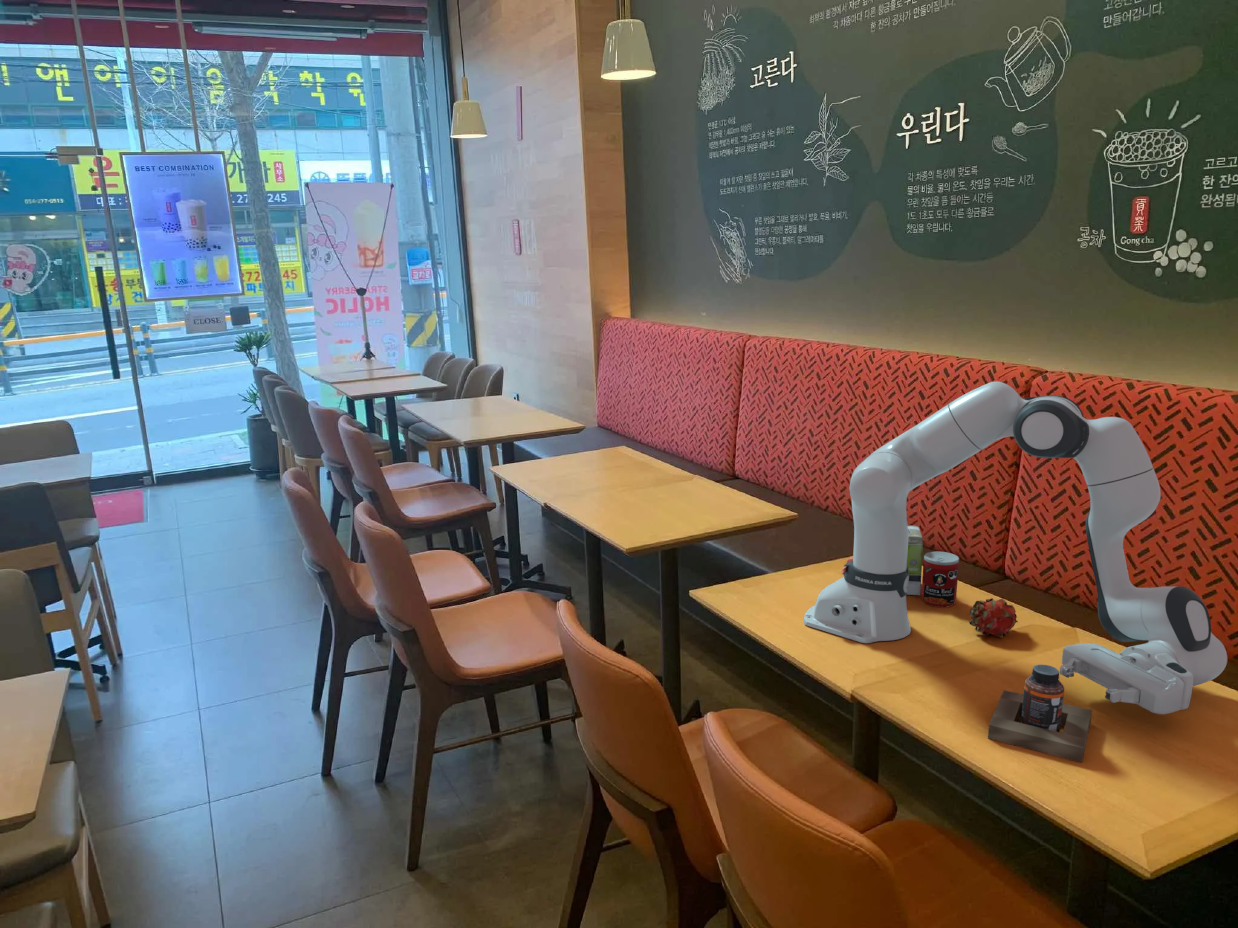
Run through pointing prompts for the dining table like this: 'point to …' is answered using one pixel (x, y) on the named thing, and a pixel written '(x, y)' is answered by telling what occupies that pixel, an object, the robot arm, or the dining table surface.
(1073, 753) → the walnut socket block
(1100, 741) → the dining table surface
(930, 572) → the canned food
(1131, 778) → the dining table surface
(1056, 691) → the supplement bottle
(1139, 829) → the dining table surface
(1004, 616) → the dragon fruit
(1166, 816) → the dining table surface
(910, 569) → the tea box
